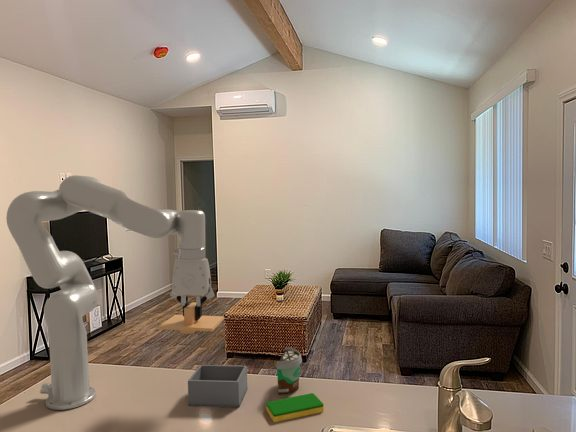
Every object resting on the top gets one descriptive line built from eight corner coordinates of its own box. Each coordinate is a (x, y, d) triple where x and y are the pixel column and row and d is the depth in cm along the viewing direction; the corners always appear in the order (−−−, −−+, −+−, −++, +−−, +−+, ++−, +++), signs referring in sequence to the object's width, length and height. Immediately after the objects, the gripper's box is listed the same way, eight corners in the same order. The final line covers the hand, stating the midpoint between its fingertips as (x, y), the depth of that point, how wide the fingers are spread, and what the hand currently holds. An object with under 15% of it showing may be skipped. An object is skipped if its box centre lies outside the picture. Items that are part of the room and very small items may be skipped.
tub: (188, 406, 116) (187, 380, 116) (201, 387, 127) (200, 364, 127) (239, 407, 115) (238, 382, 115) (247, 389, 126) (246, 365, 125)
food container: (298, 398, 119) (297, 363, 119) (277, 397, 120) (276, 362, 120) (305, 379, 131) (305, 347, 131) (286, 378, 132) (285, 346, 132)
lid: (158, 333, 116) (158, 310, 116) (175, 321, 128) (174, 299, 127) (212, 335, 114) (212, 311, 114) (224, 323, 126) (224, 301, 126)
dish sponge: (324, 413, 112) (324, 404, 112) (274, 424, 107) (273, 414, 107) (313, 401, 118) (313, 392, 118) (265, 410, 114) (265, 401, 114)
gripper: (158, 255, 117) (159, 322, 118) (216, 256, 115) (216, 324, 116) (169, 252, 125) (170, 314, 125) (223, 253, 123) (223, 316, 124)
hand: (192, 318), depth 121 cm, fingers closed on lid
